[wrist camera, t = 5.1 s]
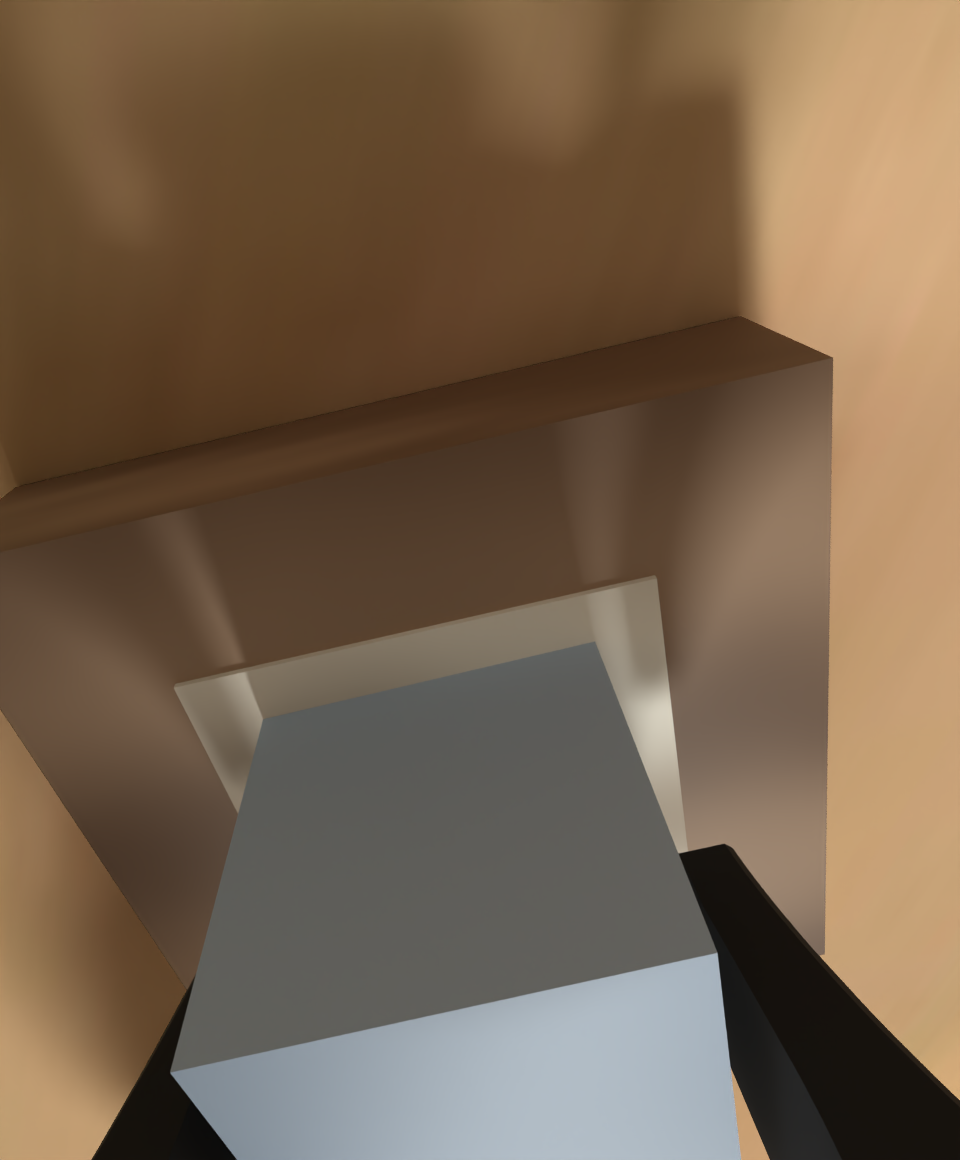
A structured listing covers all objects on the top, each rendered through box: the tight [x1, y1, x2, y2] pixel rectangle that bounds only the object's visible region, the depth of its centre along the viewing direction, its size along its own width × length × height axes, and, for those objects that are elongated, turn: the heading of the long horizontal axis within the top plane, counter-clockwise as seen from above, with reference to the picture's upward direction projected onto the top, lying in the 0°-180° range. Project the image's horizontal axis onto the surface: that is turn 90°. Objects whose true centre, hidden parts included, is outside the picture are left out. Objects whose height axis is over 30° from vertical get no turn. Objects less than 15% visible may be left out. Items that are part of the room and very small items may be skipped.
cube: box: [170, 642, 741, 1160], centre depth 10 cm, size 5×5×5 cm
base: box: [0, 316, 833, 990], centre depth 14 cm, size 12×12×3 cm
